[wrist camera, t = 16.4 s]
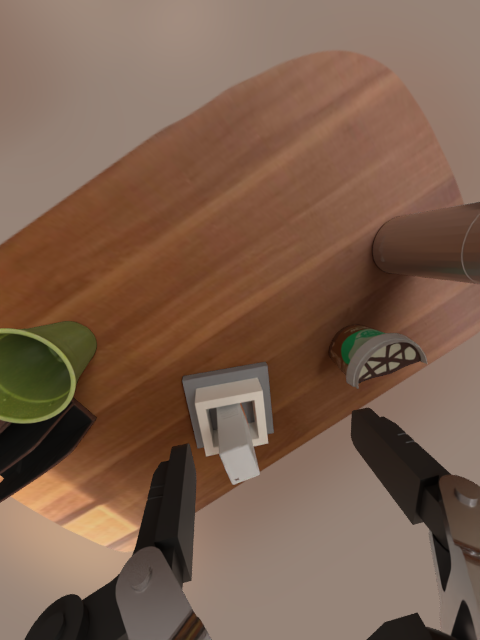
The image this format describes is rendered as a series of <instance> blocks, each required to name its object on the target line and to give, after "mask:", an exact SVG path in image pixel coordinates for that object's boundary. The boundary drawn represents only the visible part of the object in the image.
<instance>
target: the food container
mask: <svg viewBox="0 0 480 640" xmlns="http://www.w3.org/2000/svg"><path fill="white" fill-rule="evenodd" d="M329 356H330V358H331V359H332V360H333V361H334V363H335V364H336V365H337V366H338V367H339V368H340V369H341V371H342V372H343V373H344V374H345V375H346V381H347V383H348V384H350V385H351V386H353V387H356V388H358V383H361V382H363V381H365V380H368V379H371V378H375V377H379V376H383V375H387V374H390V373H393V372H395V371H397V370H399V369H401V368H403V367H405V366H408V365H410V364H413V363H416V362H419V361H421V362H423V363H426V364H427V359H426V356H425V354H424V352H423V350H422V349H421V348H420V347H419V346H418V345H417V344H416V343H415V342H413V341H412V340H411V339H409V338H408V337H407V336H404V335H402V334H398V333H383V332H380V331H378V330H375V329H372V328H369V327H366V326H363V325H359V324H356V325H349V326H347V327H345V328H343V329H341V330H340V331H339V332H338V333H337V334H336V335H335V337H334V338H333V340H332V342H331V344H330V349H329Z"/></svg>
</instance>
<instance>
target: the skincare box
mask: <svg viewBox="0 0 480 640" xmlns="http://www.w3.org/2000/svg"><path fill="white" fill-rule="evenodd" d="M216 409H217V426H218V442H219V455H220V458H221V460H222V462H223V464H224V467H225V470H226V472H227V474H228V476H229V478H230V480H231V482H232V484H233V485H234V484H237V483H240V482H242V481H245V480H248V479H250V478H253V477H256V476H258V475H260V472H259V467H258V463H257V459H256V455H255V451H254V446H253V442H252V438H251V434H250V430H249V425H248V421H247V417H246V414H245V412H244V409H243V407H242V404H241V403H236V404H231V405H226V406H221V407H216Z"/></svg>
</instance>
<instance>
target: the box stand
mask: <svg viewBox="0 0 480 640" xmlns="http://www.w3.org/2000/svg"><path fill="white" fill-rule="evenodd" d="M182 382H183V386H184V391H185V395H186V399H187V404H188V408H189V413H190V417H191V421H192V426H193V430H194V434H195V439H196V443H197V448H203V447H204V448H205V453H206V456H210V455H215V454H219V442H218V426H217V409H216V407H221V406H226V405H231V404H236V403H241V404H242V407H243V409H244V412H245V414H246V417H247V421H248V425H249V430H250V434H251V438H252V442H253V446H258V445H263V444H267V443H268V437H267V434H271V433H274V430H273V419H272V409H271V398H270V387H269V377H268V366H267V364H266V362H262V363H256V364H250V365H245V366H239V367H233V368H227V369H222V370H216V371H210V372H205V373H199V374H193V375H188V376H183V380H182Z"/></svg>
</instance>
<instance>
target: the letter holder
mask: <svg viewBox="0 0 480 640" xmlns="http://www.w3.org/2000/svg"><path fill="white" fill-rule="evenodd" d="M96 418H97V417H95V416H94V415H93V414H92V413H90V412H89V411H88V410H87V409H86V408H85V407H84V406H83V405H81V404H80V403H79V402H78V401H77V400H76V399H75V398H72V400H71V401H70V403H69V404H68V406H67V407H66V408H65V409H64V410H63V411H61V412H60V413H59V414H57V415H56V416H54V417H52V418H49V419H47V420H44V421H40V422H35V423H13V422H7V421H3V420H0V476H2V477H3V478H4V479H3V481H2V482H1V483H0V502H2V501H4V500H5V499H7V498H8V497H10V496H11V495H13V494H14V493H16V492H17V491H19V490H20V489H22V488H23V487H25V486H26V485H28V484H29V483H31V482H33V481H34V480H35V479H37V478H38V477H40V476H41V475H43V474H44V473H46V472H47V471H48V470H50V469H51V468H53V467H54V466H55V465H57V464H58V463H59V462H61V461H62V460H63V459H64V458H66V457H67V456H68V455H69V454H70V453H71V452H72V451H73V450H74V449H75V448H76V446H77V445H78V443H79V442H80V441H81V439H82V438H83V436H84V435H85V434H86V433H87V431H88V430H89V428H90V427H91V426H92V424H93V423H94V421H95V420H96Z"/></svg>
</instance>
